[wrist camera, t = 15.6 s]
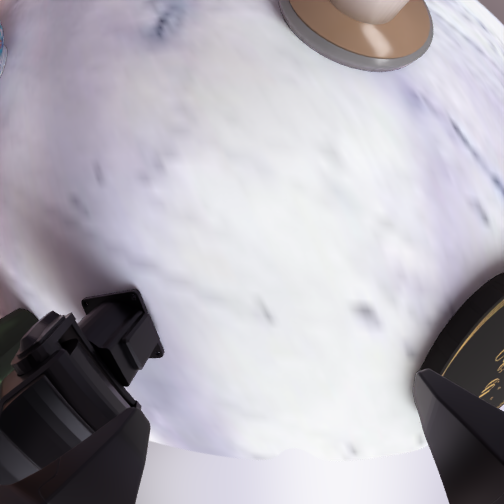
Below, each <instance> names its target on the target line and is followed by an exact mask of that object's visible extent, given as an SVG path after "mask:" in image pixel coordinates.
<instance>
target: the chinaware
mask: <svg viewBox="0 0 504 504" xmlns="http://www.w3.org/2000/svg"><path fill="white" fill-rule="evenodd" d="M6 58H7V48H6V46H4V35H3V28H2V24H1V21H0V77H1V74H2V72H3V69H4V66H5V63H6Z"/></svg>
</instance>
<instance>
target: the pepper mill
mask: <svg viewBox="0 0 504 504" xmlns="http://www.w3.org/2000/svg"><path fill="white" fill-rule="evenodd" d="M329 1H330V2H331V3H332V4H333V5H334V7H335V8H337V9H338V10H339V11H340V12H342V13H343V14H345V15H346V16H348V17H350V18H352V19H354V20H357V21H360V22H363V23H367V24H384V23H387V22H389V21H391V20H392V19H393V18H394V17H395V16H396V15H397V14H398V13H399V11H400V10H401V9H402V8H403V7H404V6H405V5H406V4H407V2H408V1H409V0H329Z"/></svg>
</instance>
